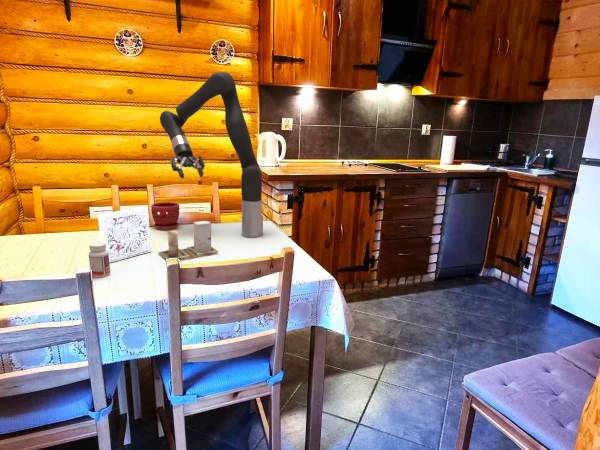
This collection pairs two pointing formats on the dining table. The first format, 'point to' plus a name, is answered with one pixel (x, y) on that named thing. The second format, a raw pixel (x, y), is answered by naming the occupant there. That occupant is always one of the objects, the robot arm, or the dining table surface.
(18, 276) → the dining table surface
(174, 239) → the peg
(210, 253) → the board
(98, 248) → the pill bottle
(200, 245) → the skincare box
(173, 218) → the plant pot
